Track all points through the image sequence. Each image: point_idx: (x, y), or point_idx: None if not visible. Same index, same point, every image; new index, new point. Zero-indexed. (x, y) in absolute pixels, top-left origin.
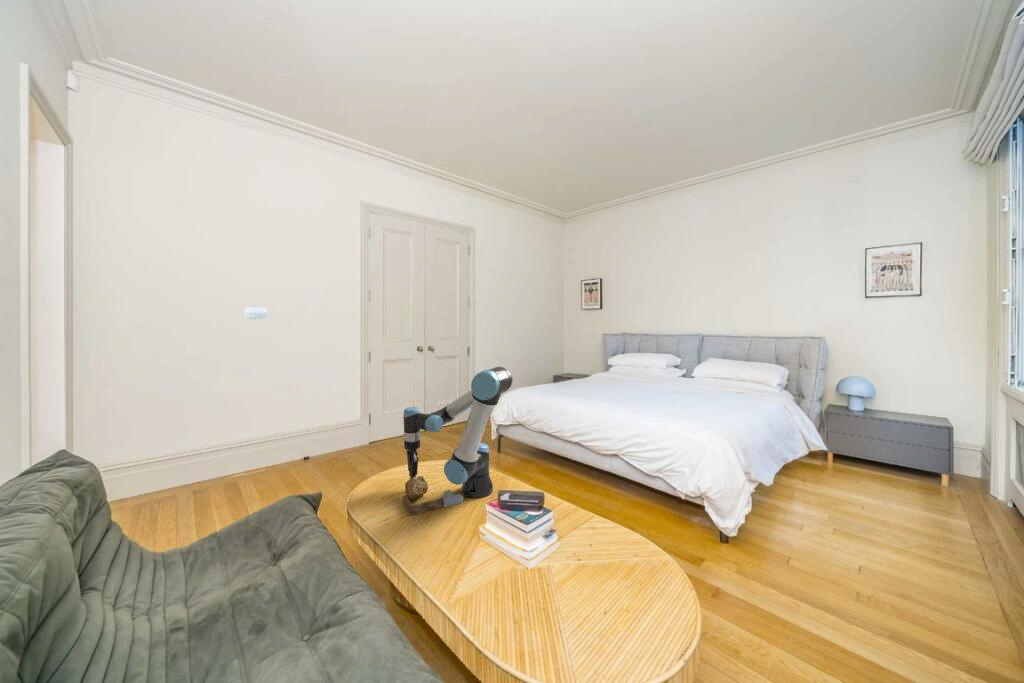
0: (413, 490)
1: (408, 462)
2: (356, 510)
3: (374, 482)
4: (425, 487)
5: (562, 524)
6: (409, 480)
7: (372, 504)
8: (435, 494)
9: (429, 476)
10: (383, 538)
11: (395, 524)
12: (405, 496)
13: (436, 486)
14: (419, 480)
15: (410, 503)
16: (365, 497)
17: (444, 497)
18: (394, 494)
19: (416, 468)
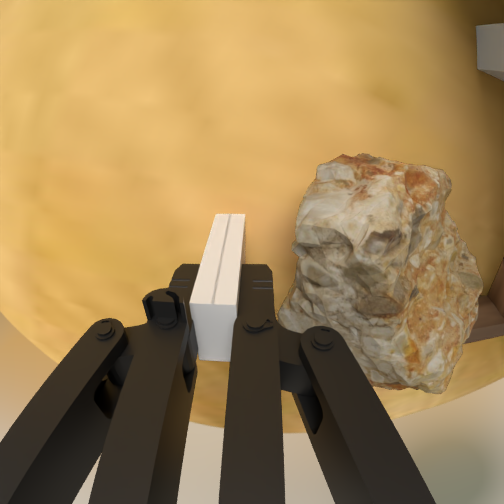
0: (467, 333)
1: (90, 464)
2: (298, 432)
3: (59, 354)
4: (444, 202)
5: None
6: (379, 385)
7: (285, 405)
8: (408, 85)
9: (34, 50)
10: (499, 375)
11: (485, 353)
12: None
13: (254, 11)
14: (417, 287)
15: (490, 328)
16: (201, 410)
17: (491, 73)
18: None
19: (390, 442)
